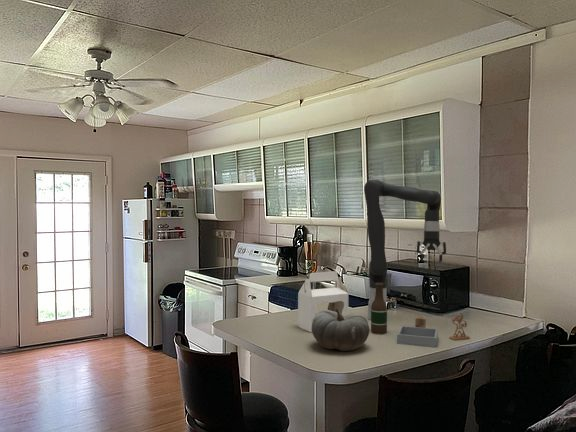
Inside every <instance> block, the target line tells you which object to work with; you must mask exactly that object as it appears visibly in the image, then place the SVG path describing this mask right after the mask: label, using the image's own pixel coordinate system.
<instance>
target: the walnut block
mask: <svg viewBox="0 0 576 432" xmlns="http://www.w3.org/2000/svg"><path fill="white" fill-rule="evenodd" d="M426 320H427V319H426V316H415V321H414V323H415V324H414V325H415V326H414V327H419V328H427V327H426V322H427V321H426Z"/></svg>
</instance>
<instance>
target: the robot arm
mask: <svg viewBox="0 0 576 432" xmlns="http://www.w3.org/2000/svg"><path fill="white" fill-rule="evenodd" d="M363 188H364V189H363V190H364V191H363V192H364V193H363V194H364V199H365V205H366V223H367V225H366V227H367V236H368V242H369V246H370V261H369V265H368V281H369V282H368V284H369V286H368V288H369V290H368V292H369V293H368V294H369V296H368V302H367V304H368V307H367V311H368V313H367V320H371V305H372V302H373V301H374V300H375V293H376V283H383V299H384V301H385V303H386V304H387V285H388V284H387V270H388V264H387V258H386V249H385V247H386V226H385V225H386V222H385V218H384V215H383V212H382V210H381V206H380V197H392V198H395V199H399V200H404V201H408V202H413V203H415V202H416V203H421V204H425V205H426V210H425V211H424V223H423V224H424V225H423V241H420V240H418V241H417V243H416V253H417V254H419V255H420V257H419V259H420V261H421V262H422V263H423V262H424V253H425V252H426V251H427V250H428V251H437V253H438V254H439V258H438V260H439V261H438V262H439V263H440V264H441V263H442V262H443V255H446V254H447V243H446V241H440V230H441V229H440V228H441V227H440V210H441V203H442V196H441V194H440V192H439V191H437V190H429V189H420V188H417V187H413V186H412V187H411V186H403V185H395V184H390V183H387V182H384V181H381V180H378V179H369V180H367V181H366V182H365V183H364V186H363ZM422 245H423V249H422V250H420V249H421V246H422ZM439 246H441V247H443V248H442V249H443V251H442V250H441V249H440V248H439Z"/></svg>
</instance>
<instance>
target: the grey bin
mask: <svg viewBox="0 0 576 432" xmlns="http://www.w3.org/2000/svg"><path fill="white" fill-rule="evenodd" d="M438 331H439V329H438V328H429V327H428V328H427V327H426V328H419V327H415V326H406V325H401V326H400V328H399V330H398V333H397V334H396V335H397V336H396V339H397V340H396V344H399V345H400V344H401V345H409V346H420V347H431V348H437V342H438V338H439V337H438Z"/></svg>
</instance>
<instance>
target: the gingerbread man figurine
mask: <svg viewBox="0 0 576 432" xmlns="http://www.w3.org/2000/svg"><path fill="white" fill-rule="evenodd" d="M451 321H452V323H453V325H456V329H455V331H454V333H453V335H451V336H449V337H448V339H449V340H452V341H464V340H470V339H471V338H470V336H468V335H467V334H466V333H465V331H464V328H467V327H468V323H467V321H466V320H464V315H463V313H461V312H458V313H456V316H454V317H452V319H451ZM455 321H456V322H457V323H455ZM462 322H464V323H462ZM460 329H461V330H462V332H461V330H460ZM459 334H460V335H459Z"/></svg>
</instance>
